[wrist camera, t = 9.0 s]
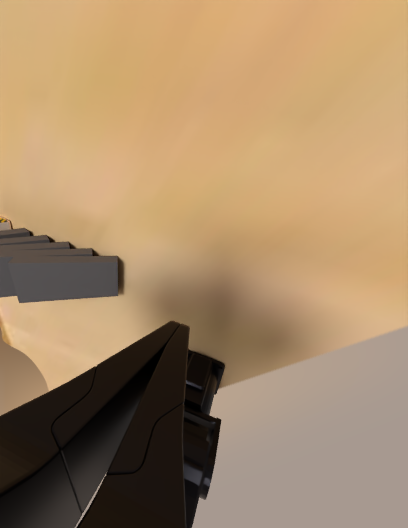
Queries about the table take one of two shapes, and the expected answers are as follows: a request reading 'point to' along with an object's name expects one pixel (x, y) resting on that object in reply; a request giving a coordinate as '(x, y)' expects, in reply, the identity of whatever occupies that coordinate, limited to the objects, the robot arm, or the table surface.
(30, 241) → the domino
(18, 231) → the domino
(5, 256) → the domino
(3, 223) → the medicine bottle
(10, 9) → the table surface
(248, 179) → the table surface
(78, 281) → the domino
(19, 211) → the table surface
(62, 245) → the domino
